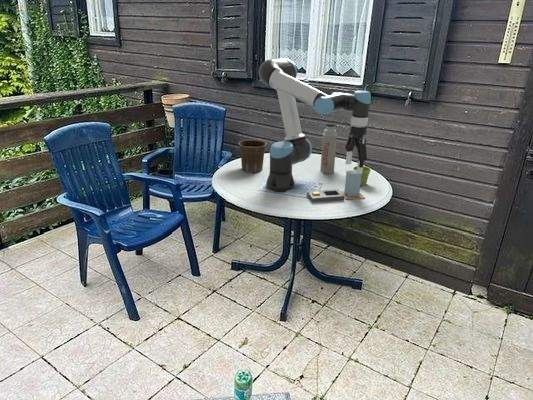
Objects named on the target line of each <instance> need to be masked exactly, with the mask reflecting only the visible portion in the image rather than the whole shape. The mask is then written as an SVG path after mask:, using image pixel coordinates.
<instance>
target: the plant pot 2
mask: <svg viewBox="0 0 533 400" xmlns="http://www.w3.org/2000/svg"><path fill="white" fill-rule="evenodd" d="M352 170H357V165H356V166H354V167H353V168H352ZM371 171H372V168H370V167H368V166H365V165H363V172H362V174H361V183H360V186H366V185H367V183H368V179H369V175H370V172H371Z"/></svg>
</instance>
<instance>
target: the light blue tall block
mask: <svg viewBox="0 0 533 400" xmlns="http://www.w3.org/2000/svg"><path fill="white" fill-rule="evenodd" d="M356 172H357V170H353V169H352V170H346V171H345V183H344V190H343V191H344V194H345V195H346V196H347V197H352V196H359V193H361V192H360V191H361V185H360V183H361V174H357V173H356Z"/></svg>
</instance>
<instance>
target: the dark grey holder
mask: <svg viewBox="0 0 533 400" xmlns="http://www.w3.org/2000/svg"><path fill="white" fill-rule="evenodd" d="M306 195H307V197H308V199H309V200H310V201H311V202H312V203H323V202H337V201H345V199H344V195H343V194H342V193H341V192H340V190H339V189H337V188H334V189H321V190H320V189H319V190H307V191H306Z"/></svg>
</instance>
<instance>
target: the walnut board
mask: <svg viewBox="0 0 533 400" xmlns="http://www.w3.org/2000/svg"><path fill="white" fill-rule="evenodd" d="M339 191H340V190H339ZM344 191H345V190H343V191H340V192H341V193H342V194H343V195H344V201H345V200H346V201H353V200H366V197H365V196H364V195H363V194H362V193H361V192H359V196H352V197H347V196H346V195H345V194H344Z"/></svg>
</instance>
